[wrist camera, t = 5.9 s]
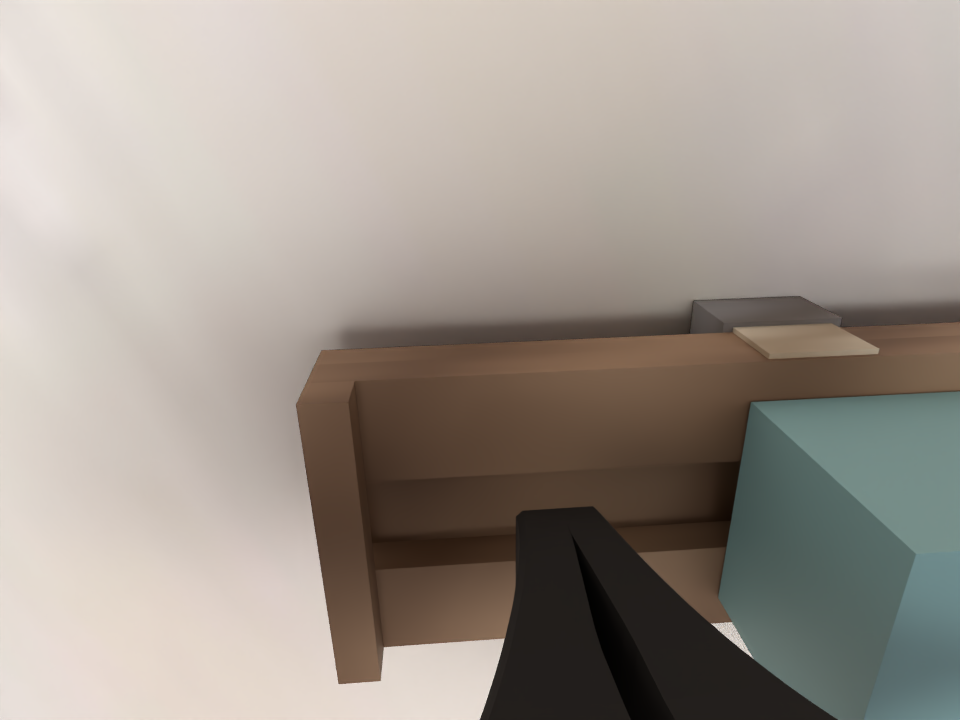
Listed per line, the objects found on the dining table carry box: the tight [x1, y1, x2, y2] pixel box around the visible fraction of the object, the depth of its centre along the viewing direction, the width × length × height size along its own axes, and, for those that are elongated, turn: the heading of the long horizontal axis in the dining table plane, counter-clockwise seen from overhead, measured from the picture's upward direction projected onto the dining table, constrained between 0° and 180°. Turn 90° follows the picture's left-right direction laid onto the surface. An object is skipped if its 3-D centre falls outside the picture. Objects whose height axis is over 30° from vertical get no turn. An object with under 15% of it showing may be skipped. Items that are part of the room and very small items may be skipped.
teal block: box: [718, 391, 960, 720], centre depth 10 cm, size 4×4×5 cm
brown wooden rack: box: [296, 296, 960, 684], centre depth 13 cm, size 18×6×4 cm, turn 91°
